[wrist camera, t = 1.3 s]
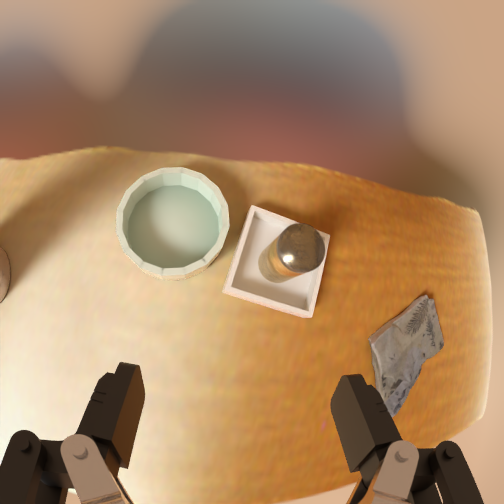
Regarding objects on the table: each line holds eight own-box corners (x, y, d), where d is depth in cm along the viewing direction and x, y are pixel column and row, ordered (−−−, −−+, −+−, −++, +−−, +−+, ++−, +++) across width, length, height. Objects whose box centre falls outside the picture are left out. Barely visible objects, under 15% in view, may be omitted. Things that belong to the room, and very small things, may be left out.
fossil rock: (421, 290, 42) (431, 288, 40) (444, 358, 41) (453, 358, 38) (352, 347, 37) (362, 348, 35) (383, 419, 35) (392, 423, 33)
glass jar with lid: (252, 276, 35) (273, 262, 27) (263, 239, 37) (285, 215, 29) (290, 288, 36) (319, 278, 28) (299, 252, 37) (329, 233, 29)
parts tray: (221, 292, 34) (224, 290, 32) (247, 212, 38) (251, 204, 35) (303, 317, 36) (311, 317, 33) (321, 240, 39) (330, 235, 37)
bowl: (107, 259, 32) (98, 251, 28) (147, 170, 36) (144, 155, 32) (205, 295, 34) (207, 292, 30) (237, 201, 38) (243, 187, 34)
